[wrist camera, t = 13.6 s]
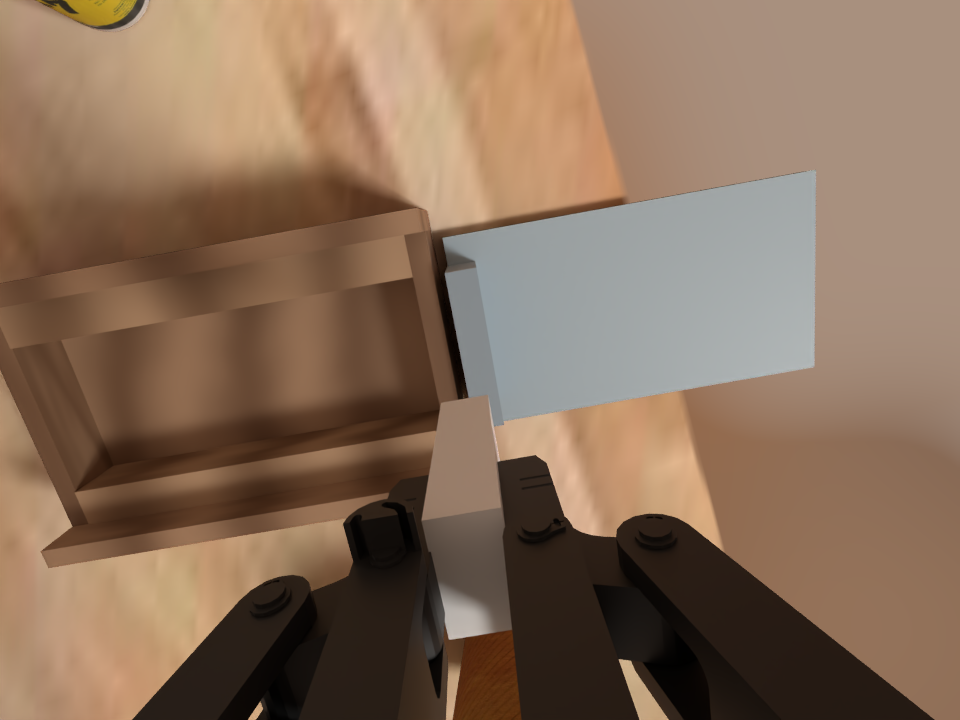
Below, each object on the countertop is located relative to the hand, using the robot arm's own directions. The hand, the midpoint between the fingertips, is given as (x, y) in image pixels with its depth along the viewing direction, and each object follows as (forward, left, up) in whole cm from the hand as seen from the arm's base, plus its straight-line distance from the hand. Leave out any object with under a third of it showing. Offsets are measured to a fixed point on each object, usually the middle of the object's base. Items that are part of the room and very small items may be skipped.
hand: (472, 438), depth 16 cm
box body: (+12, -1, -14) cm, 18 cm away
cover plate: (-10, -1, -14) cm, 17 cm away
